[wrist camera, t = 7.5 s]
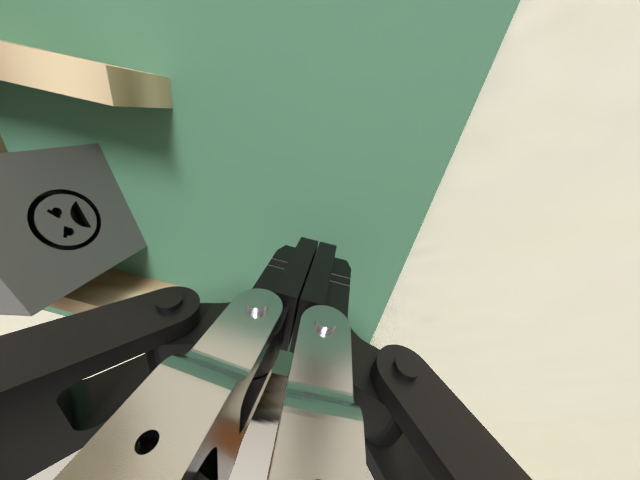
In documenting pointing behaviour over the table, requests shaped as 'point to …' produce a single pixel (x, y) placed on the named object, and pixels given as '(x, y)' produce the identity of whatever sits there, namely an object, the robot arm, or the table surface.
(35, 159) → the dice cube
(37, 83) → the wooden u-shaped frame
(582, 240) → the table surface
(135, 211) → the green mat
